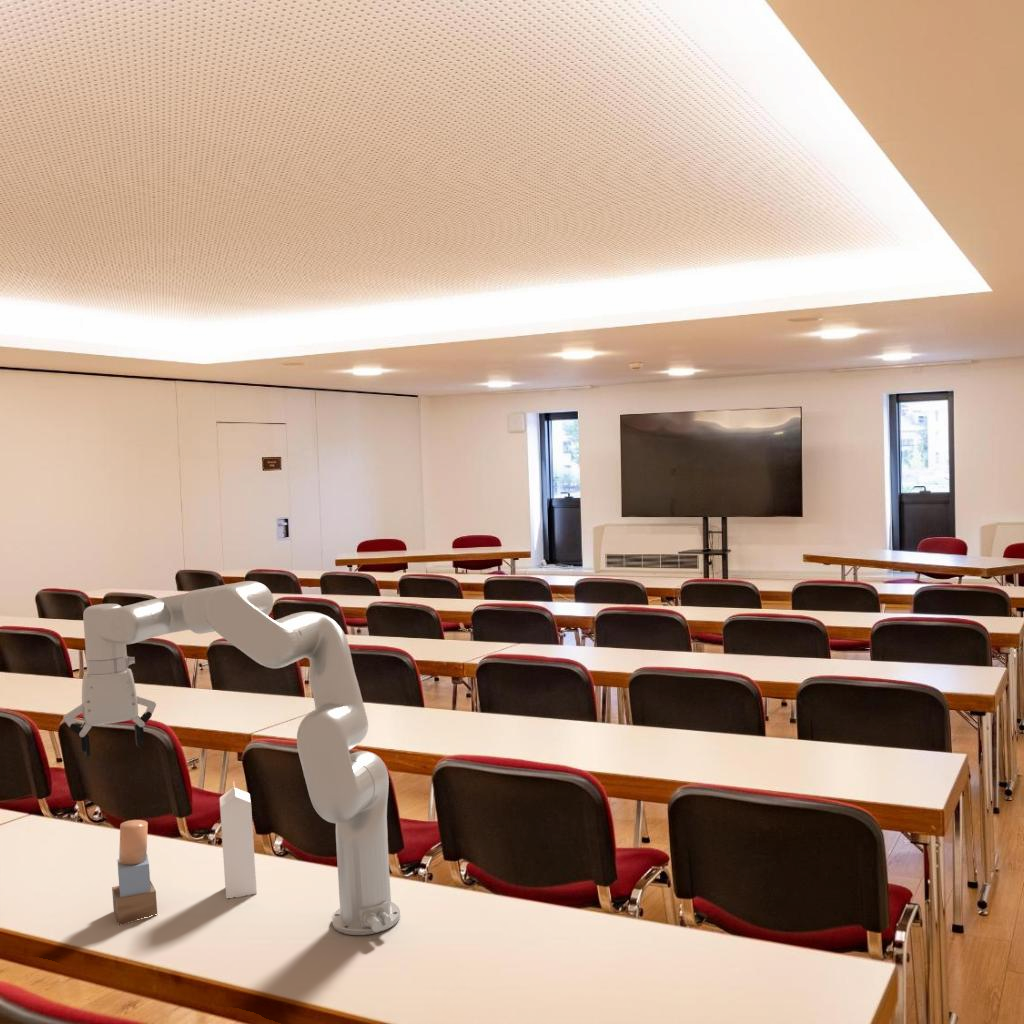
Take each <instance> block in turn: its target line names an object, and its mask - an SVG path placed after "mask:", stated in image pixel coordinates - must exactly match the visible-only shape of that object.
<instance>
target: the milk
mask: <svg viewBox="0 0 1024 1024" xmlns="http://www.w3.org/2000/svg"><path fill="white" fill-rule="evenodd" d="M251 801H252V800H251V794H250V793H249V792H247V791H244V790H241V789H239V788H237V787H235V780H233V787H232V788H231V789H229V790H228V791H227V792H225V793H224V794H223V795H221V796H220V797H219V811H220V812H219V813H220V823H221V825H220V826H221V827H220V828H221V839H222V840H221V841H222V854H223V855H222V857H223V869H224V871H223V872H224V885H225V887H224V888H225V898H226V900H229V899H228V898H230V899H234V898H233V897H236V898H240V897H245V896H246V895H247V896H252V895H251V894H253V895H257V894H258V890H257V876H256V873H257V872H256V862H255V860H256V859H255V846H254V845H255V843H254V831H253V829H254V828H253V827H254V826H253V816H252V812H253V811H252V802H251Z"/></svg>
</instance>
